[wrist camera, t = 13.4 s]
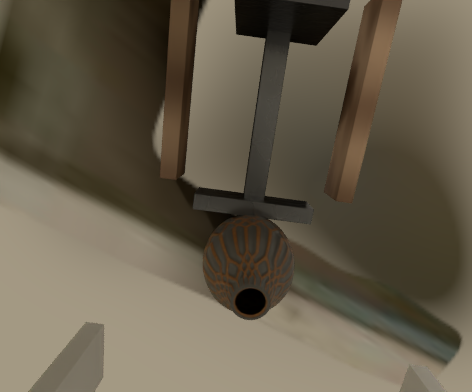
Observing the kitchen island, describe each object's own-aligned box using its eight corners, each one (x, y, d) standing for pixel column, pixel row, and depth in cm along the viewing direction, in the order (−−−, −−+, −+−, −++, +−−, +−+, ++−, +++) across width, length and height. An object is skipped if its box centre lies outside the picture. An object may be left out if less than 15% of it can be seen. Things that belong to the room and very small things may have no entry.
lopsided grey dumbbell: (219, -16, 19) (209, -82, 13) (346, 2, 19) (394, -55, 13) (197, 200, 23) (182, 225, 17) (303, 214, 23) (325, 243, 17)
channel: (184, -20, 19) (174, -47, 16) (380, 8, 19) (405, -14, 16) (170, 171, 22) (159, 177, 19) (337, 193, 22) (351, 203, 20)
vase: (285, 274, 24) (309, 351, 16) (211, 276, 25) (196, 353, 16) (285, 203, 23) (311, 246, 14) (206, 206, 23) (186, 250, 14)
